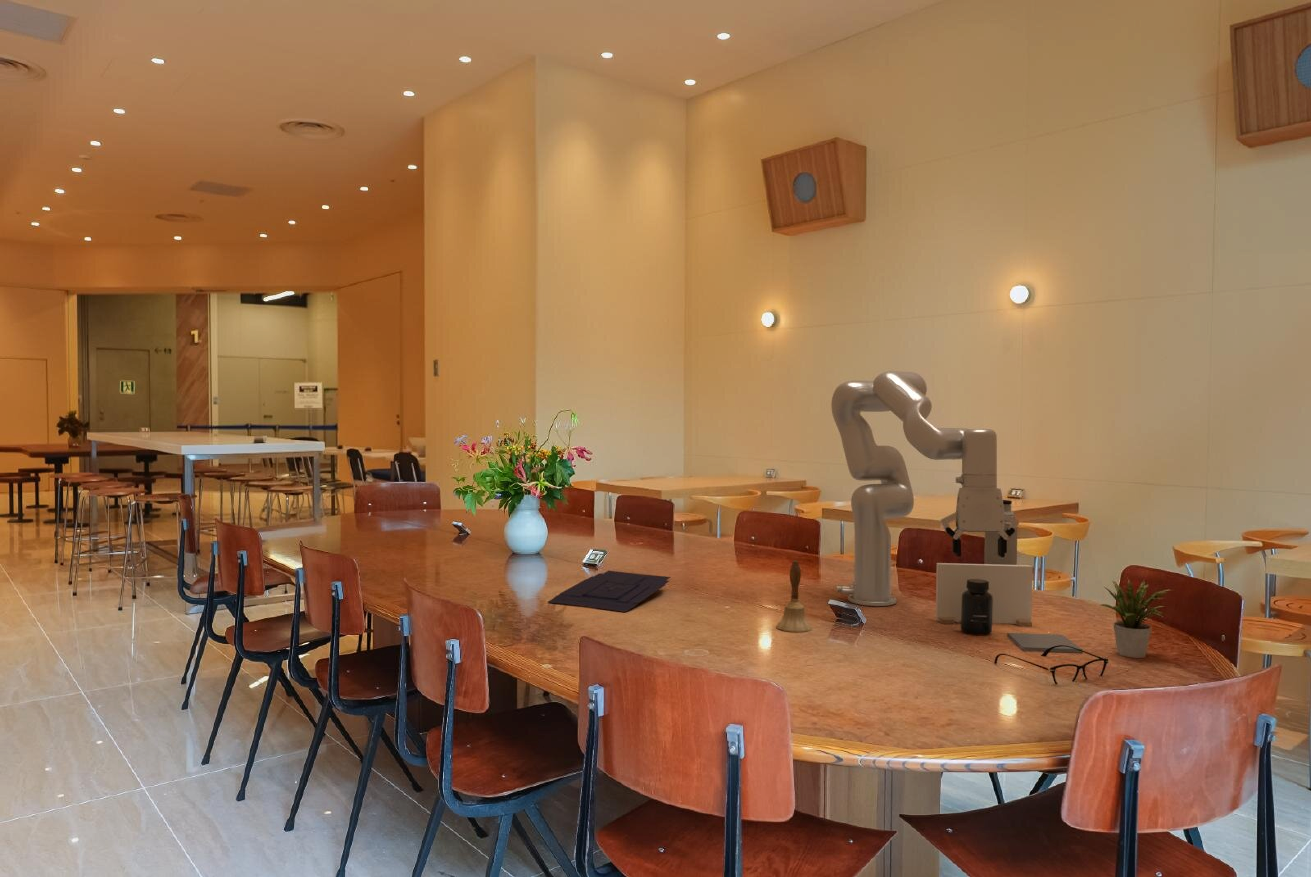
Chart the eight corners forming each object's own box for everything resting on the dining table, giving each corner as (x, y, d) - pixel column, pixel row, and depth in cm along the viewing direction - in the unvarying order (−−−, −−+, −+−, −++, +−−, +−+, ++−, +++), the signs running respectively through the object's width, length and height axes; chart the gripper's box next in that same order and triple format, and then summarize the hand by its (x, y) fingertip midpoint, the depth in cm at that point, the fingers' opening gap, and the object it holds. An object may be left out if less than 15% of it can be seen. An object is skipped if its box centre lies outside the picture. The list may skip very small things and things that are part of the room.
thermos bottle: (979, 601, 229) (981, 498, 228) (1010, 602, 228) (1012, 498, 227) (988, 608, 221) (990, 501, 220) (1020, 609, 220) (1022, 501, 219)
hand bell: (815, 626, 203) (816, 559, 202) (806, 634, 195) (807, 565, 195) (782, 622, 206) (782, 556, 206) (771, 630, 199) (772, 562, 198)
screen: (939, 623, 205) (939, 565, 205) (934, 617, 211) (934, 561, 211) (1034, 626, 203) (1035, 568, 202) (1026, 620, 208) (1027, 563, 208)
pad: (1023, 650, 182) (1023, 647, 182) (1007, 636, 194) (1007, 632, 194) (1082, 653, 180) (1082, 649, 180) (1062, 638, 192) (1062, 634, 192)
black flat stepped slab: (677, 587, 241) (676, 574, 241) (627, 622, 215) (626, 608, 214) (603, 579, 252) (602, 567, 252) (546, 611, 226) (546, 598, 225)
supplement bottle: (977, 637, 193) (978, 584, 192) (954, 630, 199) (955, 579, 198) (998, 633, 196) (999, 582, 196) (975, 627, 202) (976, 576, 202)
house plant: (1172, 670, 168) (1174, 588, 168) (1094, 659, 176) (1095, 581, 175) (1173, 653, 181) (1175, 576, 180) (1100, 643, 188) (1101, 570, 187)
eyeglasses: (1050, 688, 158) (1051, 667, 158) (986, 665, 173) (987, 646, 173) (1113, 678, 165) (1113, 657, 165) (1046, 656, 179) (1046, 637, 179)
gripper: (944, 483, 194) (944, 558, 194) (1023, 483, 191) (1023, 559, 192) (937, 481, 201) (937, 553, 201) (1013, 481, 199) (1013, 554, 199)
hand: (979, 556), depth 196 cm, fingers open, 9 cm apart
